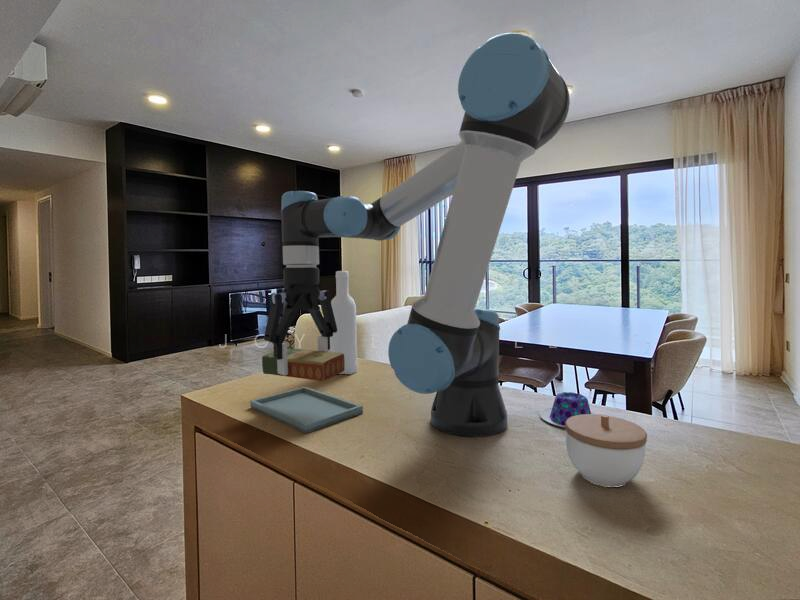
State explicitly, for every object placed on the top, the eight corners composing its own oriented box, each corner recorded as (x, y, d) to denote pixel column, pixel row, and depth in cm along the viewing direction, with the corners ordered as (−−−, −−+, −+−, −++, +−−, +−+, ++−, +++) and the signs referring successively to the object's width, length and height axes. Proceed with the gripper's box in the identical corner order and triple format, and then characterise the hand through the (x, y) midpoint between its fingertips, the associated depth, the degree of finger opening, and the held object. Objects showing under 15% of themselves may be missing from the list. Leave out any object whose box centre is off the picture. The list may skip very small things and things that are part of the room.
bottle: (362, 371, 124) (361, 271, 121) (341, 376, 119) (338, 271, 116) (347, 367, 130) (345, 270, 127) (325, 371, 124) (323, 271, 122)
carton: (323, 382, 84) (322, 362, 83) (261, 374, 90) (260, 354, 90) (345, 371, 91) (344, 352, 91) (286, 364, 98) (285, 346, 97)
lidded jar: (663, 490, 58) (666, 424, 57) (600, 503, 55) (602, 434, 54) (605, 456, 68) (607, 400, 68) (549, 465, 65) (550, 407, 64)
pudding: (529, 421, 84) (529, 396, 84) (554, 406, 93) (555, 383, 93) (590, 438, 76) (591, 410, 76) (612, 420, 85) (612, 395, 84)
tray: (362, 413, 89) (362, 405, 89) (305, 433, 79) (305, 425, 79) (305, 392, 104) (304, 386, 104) (250, 407, 93) (250, 400, 93)
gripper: (332, 266, 99) (333, 358, 101) (242, 267, 83) (246, 376, 85) (352, 266, 94) (353, 363, 96) (261, 267, 78) (265, 383, 80)
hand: (303, 369), depth 91 cm, fingers closed on carton, 10 cm apart
